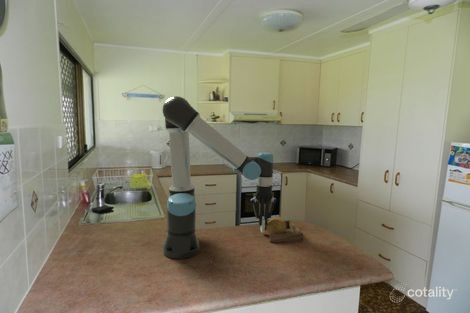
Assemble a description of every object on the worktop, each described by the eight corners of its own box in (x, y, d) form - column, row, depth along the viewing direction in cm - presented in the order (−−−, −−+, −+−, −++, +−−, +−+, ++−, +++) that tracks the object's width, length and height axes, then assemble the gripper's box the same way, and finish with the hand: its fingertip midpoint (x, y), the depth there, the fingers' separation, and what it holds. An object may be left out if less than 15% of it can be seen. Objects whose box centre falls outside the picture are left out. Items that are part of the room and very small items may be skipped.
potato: (286, 229, 146) (286, 214, 145) (285, 240, 133) (286, 224, 132) (267, 227, 148) (267, 213, 147) (264, 238, 134) (265, 222, 133)
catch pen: (302, 240, 133) (303, 233, 133) (269, 242, 130) (270, 235, 130) (289, 226, 151) (289, 220, 150) (260, 227, 148) (260, 221, 148)
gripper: (275, 182, 141) (272, 228, 144) (249, 183, 139) (248, 229, 142) (279, 186, 133) (277, 234, 137) (253, 186, 131) (251, 235, 134)
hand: (262, 231), depth 139 cm, fingers closed
